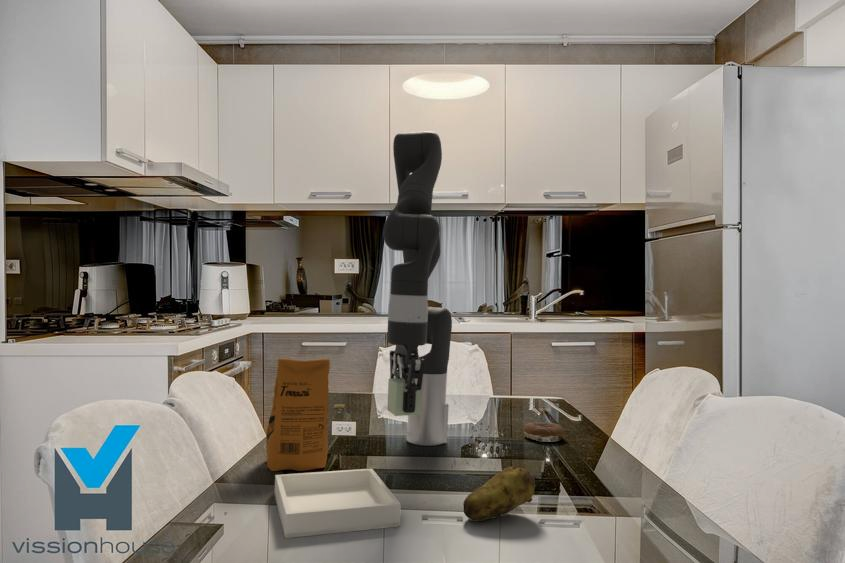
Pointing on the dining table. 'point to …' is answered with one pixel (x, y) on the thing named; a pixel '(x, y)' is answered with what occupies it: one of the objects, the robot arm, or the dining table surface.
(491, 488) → the potato
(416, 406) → the green cube
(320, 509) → the bin
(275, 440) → the coffee package
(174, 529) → the dining table surface
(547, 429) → the donut
